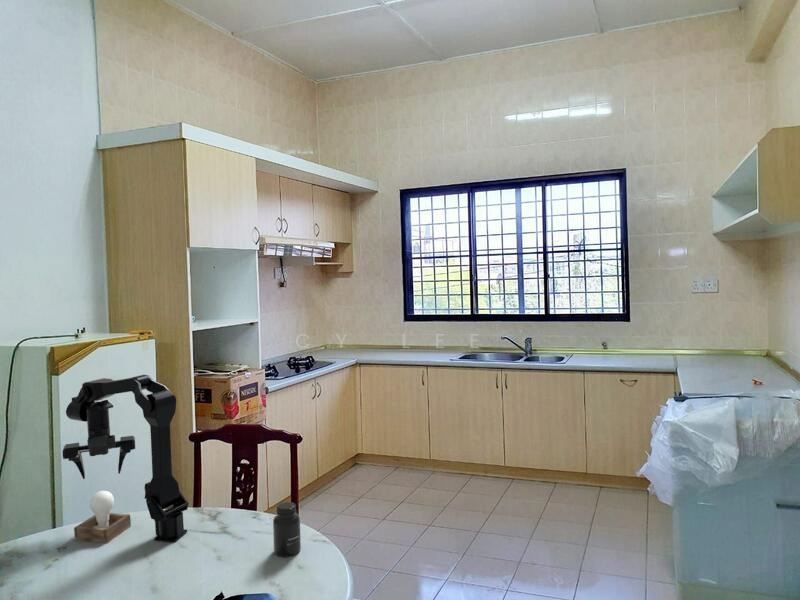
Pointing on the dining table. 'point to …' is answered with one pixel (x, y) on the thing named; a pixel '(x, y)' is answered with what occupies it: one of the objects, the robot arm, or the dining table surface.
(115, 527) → the brown square tray
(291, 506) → the supplement bottle
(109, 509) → the lightbulb
